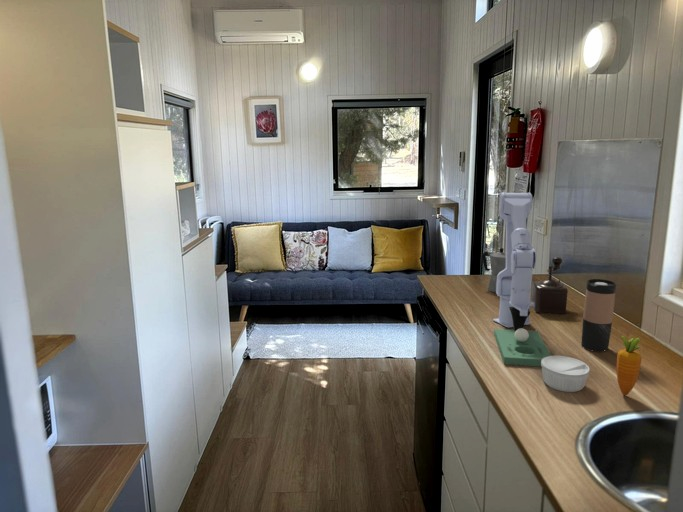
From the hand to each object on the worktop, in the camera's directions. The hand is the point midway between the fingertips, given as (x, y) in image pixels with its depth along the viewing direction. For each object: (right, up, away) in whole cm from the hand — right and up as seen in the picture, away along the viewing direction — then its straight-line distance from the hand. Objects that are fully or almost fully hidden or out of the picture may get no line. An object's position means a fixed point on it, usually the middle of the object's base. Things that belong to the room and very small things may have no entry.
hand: (517, 330), depth 152 cm
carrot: (+13, -11, -34) cm, 38 cm away
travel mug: (+21, -4, -5) cm, 22 cm away
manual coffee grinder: (+22, +4, +32) cm, 39 cm away
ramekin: (+2, -9, -27) cm, 29 cm away
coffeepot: (+11, +9, +55) cm, 56 cm away
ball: (-1, 0, -6) cm, 6 cm away
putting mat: (-1, -5, -7) cm, 8 cm away
